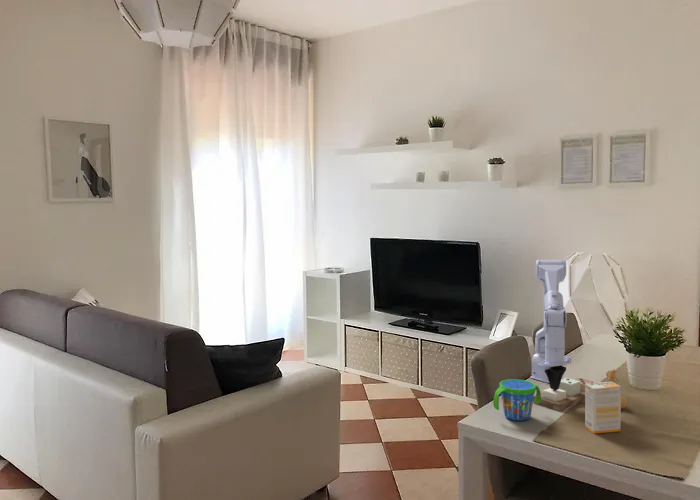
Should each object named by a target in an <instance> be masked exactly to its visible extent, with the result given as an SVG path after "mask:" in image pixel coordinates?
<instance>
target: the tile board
mask: <svg viewBox="0 0 700 500" xmlns="http://www.w3.org/2000/svg"><path fill="white" fill-rule="evenodd" d="M535 397H536V394H534V396H533V404H535V405H539V406H542V407H545V408H548V409H552V410H554V411H558V412H562V411H564V410H566V409H569V408H572V407H574V406H578V405H580V404H583V403H585V392H584V391H580V394H577V395H574V396H572V397H571V396H567V395H566V399H563V400H560V401H557V402H556V401H553V400H549V399H546V398H543V392H541V403H540V404H538V403H536V402H535Z"/></svg>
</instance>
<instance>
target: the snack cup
mask: <svg viewBox="0 0 700 500" xmlns="http://www.w3.org/2000/svg"><path fill="white" fill-rule="evenodd" d="M541 393H542V392H541V389H540V388H539V386H538V385H537V384H535V383H534V382H532V381H529V380H525V379H517V378H514V379H513V378H510V379H503V380H501V381H500V382H499V386H498V387H497V389H496V390H495V392H494V396H493V401H492V404H493V408H494V410H497V411H500V405H499V404H500V402H499V399H500V395H501V400H502V408H503V409H502V410H503V413H504V417H506V419H509V420H512V421H518V422H520V421H521V422H523V421H526V420H530V418H531V416H532V410H533V404H534V403H533V396H535V395H536V397H535V402H536V403H538V404H537V405H539V404H540V403H541ZM536 403H535V404H536Z"/></svg>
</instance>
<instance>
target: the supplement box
mask: <svg viewBox="0 0 700 500" xmlns="http://www.w3.org/2000/svg"><path fill="white" fill-rule="evenodd" d="M617 384H618V383H617ZM617 384H615V383H614V382H609V381H602V382H601V381H599V382H594V383H586V384H585V402H584V403H585V404H584V406H585V407H584V408H585V409H584V417H585V418H584V420H585V421H584V427H585V429H586V430H587V431H590V432H591V433H592V434H593V435H594V434H605V433H615V432H616V433H617V432H621V423H622V422H621V419H622V417H621V412H622V411H621V410H622V409H621V396H622V390H621V389H622V386H621V385H619V384H618V385H617Z"/></svg>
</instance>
